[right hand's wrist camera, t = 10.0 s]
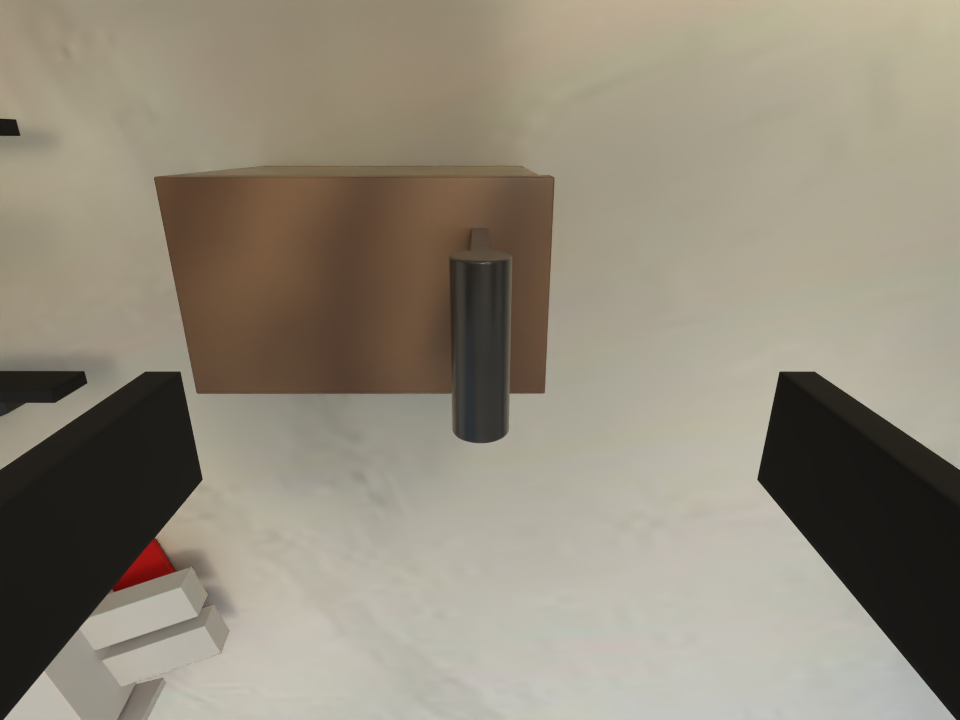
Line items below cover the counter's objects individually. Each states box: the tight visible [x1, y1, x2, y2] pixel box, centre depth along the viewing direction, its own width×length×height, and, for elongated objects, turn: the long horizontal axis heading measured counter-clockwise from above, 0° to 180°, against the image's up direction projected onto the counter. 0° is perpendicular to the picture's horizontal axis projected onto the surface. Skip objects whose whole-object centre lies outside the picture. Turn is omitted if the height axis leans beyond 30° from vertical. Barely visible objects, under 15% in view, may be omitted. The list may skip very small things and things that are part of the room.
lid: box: [154, 175, 554, 443], centre depth 21 cm, size 16×10×9 cm, turn 90°
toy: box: [4, 539, 229, 720], centre depth 41 cm, size 12×13×30 cm
